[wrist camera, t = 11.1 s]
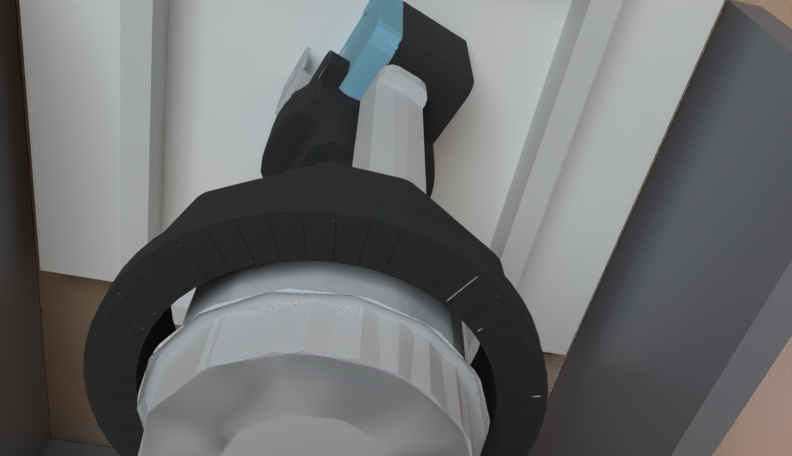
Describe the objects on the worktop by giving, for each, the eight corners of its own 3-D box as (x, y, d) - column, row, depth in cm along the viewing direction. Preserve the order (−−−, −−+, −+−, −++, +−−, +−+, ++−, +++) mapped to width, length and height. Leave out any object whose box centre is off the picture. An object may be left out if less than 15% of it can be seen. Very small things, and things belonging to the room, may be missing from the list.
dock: (-41, -168, 14) (-285, -118, 9) (762, 7, 16) (927, 130, 11) (26, 451, 24) (-74, 638, 19) (518, 519, 26) (545, 707, 21)
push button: (368, 272, 19) (339, 698, 10) (173, 173, 17) (-47, 579, 9) (531, 59, 16) (673, 425, 7) (310, -85, 14) (170, 170, 6)
